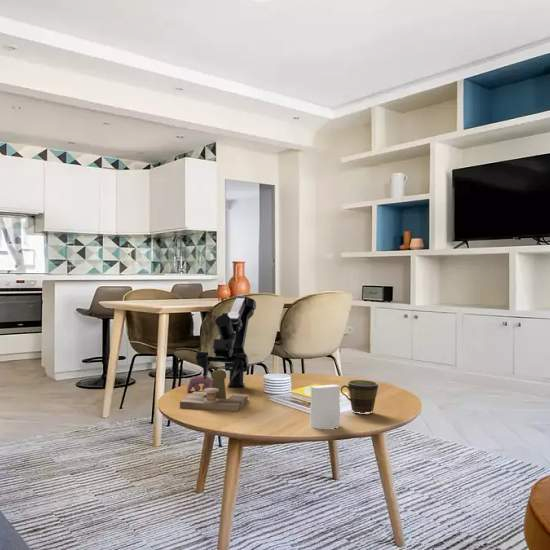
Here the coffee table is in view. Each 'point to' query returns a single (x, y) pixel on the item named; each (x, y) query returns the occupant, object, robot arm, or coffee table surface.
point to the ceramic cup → (362, 395)
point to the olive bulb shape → (219, 383)
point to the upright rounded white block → (325, 406)
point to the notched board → (213, 401)
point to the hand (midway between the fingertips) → (217, 379)
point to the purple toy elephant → (199, 380)
